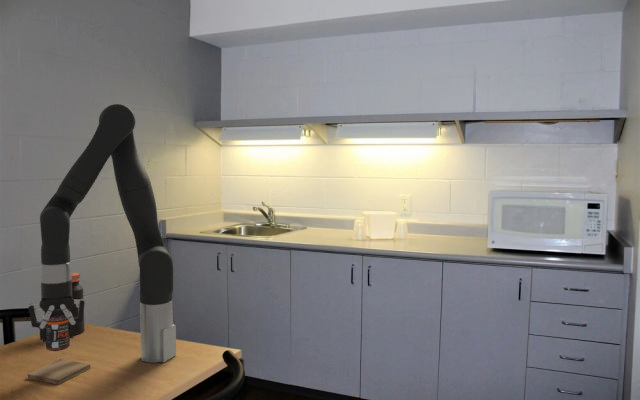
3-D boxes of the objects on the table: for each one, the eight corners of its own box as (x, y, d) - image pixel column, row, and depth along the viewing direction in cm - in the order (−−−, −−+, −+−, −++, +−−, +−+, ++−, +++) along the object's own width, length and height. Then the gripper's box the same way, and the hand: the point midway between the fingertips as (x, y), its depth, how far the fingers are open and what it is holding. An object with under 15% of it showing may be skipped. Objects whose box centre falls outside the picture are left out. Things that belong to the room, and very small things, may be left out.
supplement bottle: (60, 353, 139) (59, 311, 138) (40, 351, 140) (39, 310, 139) (74, 345, 145) (73, 305, 144) (56, 343, 146) (55, 304, 145)
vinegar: (77, 327, 181) (75, 271, 179) (88, 331, 177) (86, 274, 175) (58, 332, 175) (56, 274, 173) (69, 337, 171) (67, 277, 169)
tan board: (90, 368, 146) (90, 364, 146) (59, 384, 136) (58, 380, 136) (60, 362, 150) (60, 358, 150) (27, 378, 140) (27, 373, 140)
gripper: (25, 284, 134) (27, 347, 136) (86, 279, 141) (87, 339, 142) (26, 278, 141) (28, 338, 142) (84, 273, 147) (86, 331, 149)
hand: (58, 338), depth 142 cm, fingers closed on supplement bottle, 6 cm apart
